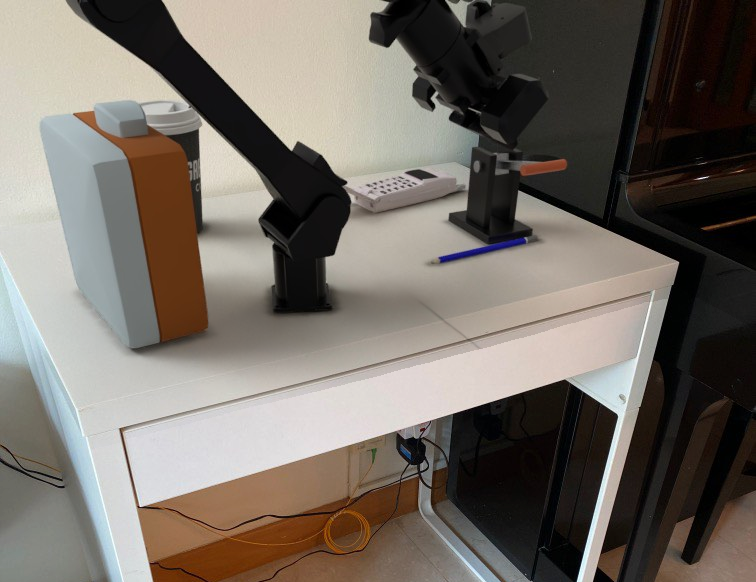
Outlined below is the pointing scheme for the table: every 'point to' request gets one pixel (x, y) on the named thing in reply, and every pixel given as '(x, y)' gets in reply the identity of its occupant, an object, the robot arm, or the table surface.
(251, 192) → the table surface
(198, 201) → the coffee cup
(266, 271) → the table surface
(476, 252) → the pencil
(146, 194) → the alarm clock
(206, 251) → the table surface
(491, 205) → the switch bracket
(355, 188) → the mobile phone
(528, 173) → the switch lever
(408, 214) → the table surface
